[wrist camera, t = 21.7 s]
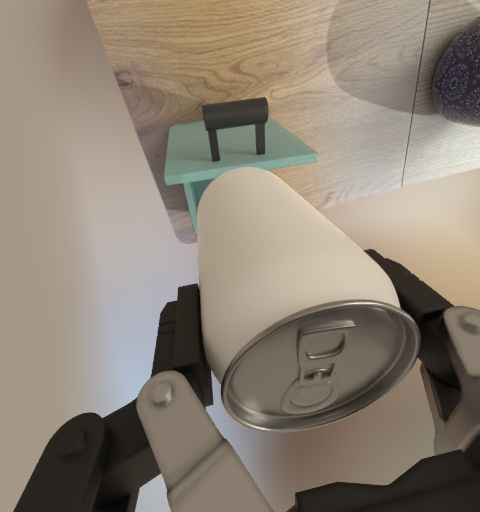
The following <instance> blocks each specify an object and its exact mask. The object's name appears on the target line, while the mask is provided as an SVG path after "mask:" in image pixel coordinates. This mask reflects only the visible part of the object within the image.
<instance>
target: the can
mask: <svg viewBox="0 0 480 512" xmlns="http://www.w3.org/2000/svg"><path fill="white" fill-rule="evenodd" d="M197 240H198V265H199V288H200V309H201V327H202V339H203V347H204V352H205V357H206V360H207V362H208V364H209V366H210V368H211V370H212V372H213V373H214V375H215V377H216V378H217V380H218V381H219V382H220V384H221V399H222V403H223V406H224V408H225V410H226V411H227V413H228V414H229V415H230V416H231V417H232V418H233V419H234V420H236V421H237V422H238V423H240V424H242V425H244V426H246V427H249V428H252V429H256V430H260V431H266V432H295V431H303V430H309V429H314V428H318V427H322V426H325V425H329V424H332V423H335V422H338V421H340V420H343V419H345V418H348V417H350V416H352V415H354V414H356V413H358V412H360V411H362V410H364V409H366V408H367V407H369V406H371V405H373V404H374V403H376V402H377V401H378V400H380V399H381V398H383V397H384V396H386V395H387V394H388V393H389V392H391V391H392V390H393V389H394V388H395V387H396V386H397V385H398V384H399V383H400V382H401V381H402V380H403V379H404V378H405V377H406V376H407V374H408V373H409V372H410V370H411V369H412V367H413V365H414V364H415V362H416V360H417V357H418V355H419V352H420V347H421V334H420V330H419V328H418V326H417V324H416V322H415V321H414V319H413V318H412V317H411V316H410V315H409V314H408V313H406V312H405V311H404V310H402V309H401V307H400V304H399V300H398V297H397V294H396V291H395V288H394V286H393V284H392V282H391V280H390V278H389V277H388V275H387V274H386V273H385V272H384V270H383V269H382V268H381V267H380V266H379V265H378V264H377V263H376V262H375V261H374V260H373V259H372V258H371V257H370V256H369V255H368V254H366V253H365V252H364V251H363V250H362V249H361V248H360V247H359V246H357V245H356V244H355V243H354V242H353V241H352V240H351V239H350V238H348V237H347V236H346V235H345V234H344V233H343V232H341V231H340V230H339V229H338V228H337V227H336V226H335V225H334V224H332V223H331V222H330V221H329V220H328V219H327V218H325V217H324V216H323V215H322V214H321V213H320V212H319V211H317V210H316V209H315V208H314V207H313V206H312V205H310V204H309V203H308V202H307V201H306V200H305V199H303V198H302V197H301V196H300V195H299V194H298V193H296V192H295V191H294V190H293V189H292V188H291V187H289V186H288V185H287V184H286V183H285V182H283V181H282V180H281V179H280V178H278V177H277V176H276V175H274V174H273V173H271V172H269V171H267V170H264V169H261V168H256V167H241V168H236V169H232V170H230V171H227V172H225V173H223V174H222V175H220V176H219V177H217V178H216V179H215V180H214V181H212V182H211V183H210V185H209V186H208V187H207V188H206V190H205V191H204V193H203V195H202V197H201V199H200V202H199V205H198V210H197Z"/></svg>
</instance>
